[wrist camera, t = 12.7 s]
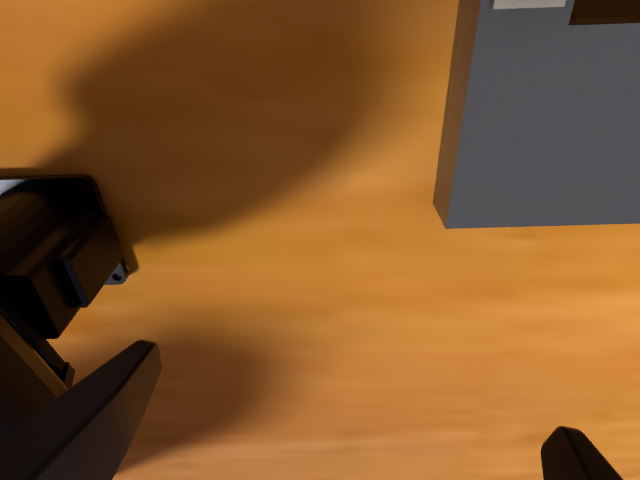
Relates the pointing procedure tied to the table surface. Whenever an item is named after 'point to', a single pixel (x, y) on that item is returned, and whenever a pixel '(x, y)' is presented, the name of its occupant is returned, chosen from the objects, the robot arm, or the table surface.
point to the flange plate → (540, 118)
